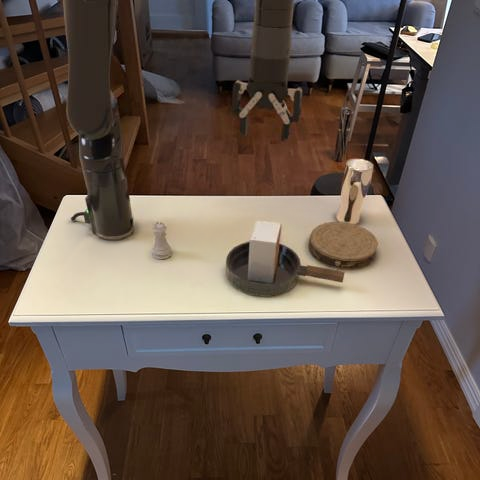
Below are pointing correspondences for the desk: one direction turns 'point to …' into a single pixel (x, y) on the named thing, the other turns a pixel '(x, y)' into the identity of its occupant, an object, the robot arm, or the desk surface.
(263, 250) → the small box
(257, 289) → the pan
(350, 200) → the silver metal cup
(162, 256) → the rook chess piece
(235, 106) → the robot arm
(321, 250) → the wood slice
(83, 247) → the desk surface
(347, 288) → the desk surface
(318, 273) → the pan handle
